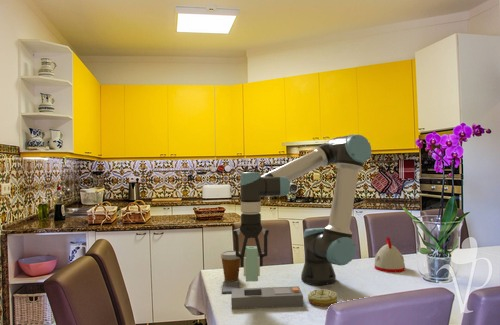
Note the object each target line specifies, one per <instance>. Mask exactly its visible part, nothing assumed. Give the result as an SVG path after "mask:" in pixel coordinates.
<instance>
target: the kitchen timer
mask: <svg viewBox="0 0 500 325" xmlns="http://www.w3.org/2000/svg"><path fill="white" fill-rule="evenodd" d="M385 241H386V242H385V243H386V244H384V245H382V246H381V248H380V249H378V252H377V253H375V255H374V256H375V257H374V269H375V270H377V271H379V272H382V273H389V274H390V273H392V274H397V273H403V272H405V271H406V266H405V265H406V264H405V259H404V256H403V254H402V253H401V252H400V250H398V248H397V247H396V246H394V245H393V244H392V243H391V238H390V237H389V236H388V237H386V239H385Z"/></svg>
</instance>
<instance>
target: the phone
mask: <svg viewBox="0 0 500 325" xmlns="http://www.w3.org/2000/svg"><path fill="white" fill-rule="evenodd" d="M238 288H240V281H224V282H222V288H221V294H222V295H224V294H225V295H230V294H231V295H232V289H238Z"/></svg>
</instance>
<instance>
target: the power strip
mask: <svg viewBox="0 0 500 325" xmlns="http://www.w3.org/2000/svg"><path fill="white" fill-rule="evenodd" d="M230 298H231V300H230V301H231V302H230V303H231V306H230V307H231V309H232V310H240V309H241V310H242V309H244V310H245V309H267V308H269V309H271V308H292V307H294V308H296V307H300V308H301V307H304V294H303V293H302V291H301V289H300V287H299V285H298V286H276V287H275V286H273V287H272V286H271V287H244V288H243V287H241V288H240V287H239V288H238V289H232V294H231V297H230Z"/></svg>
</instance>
